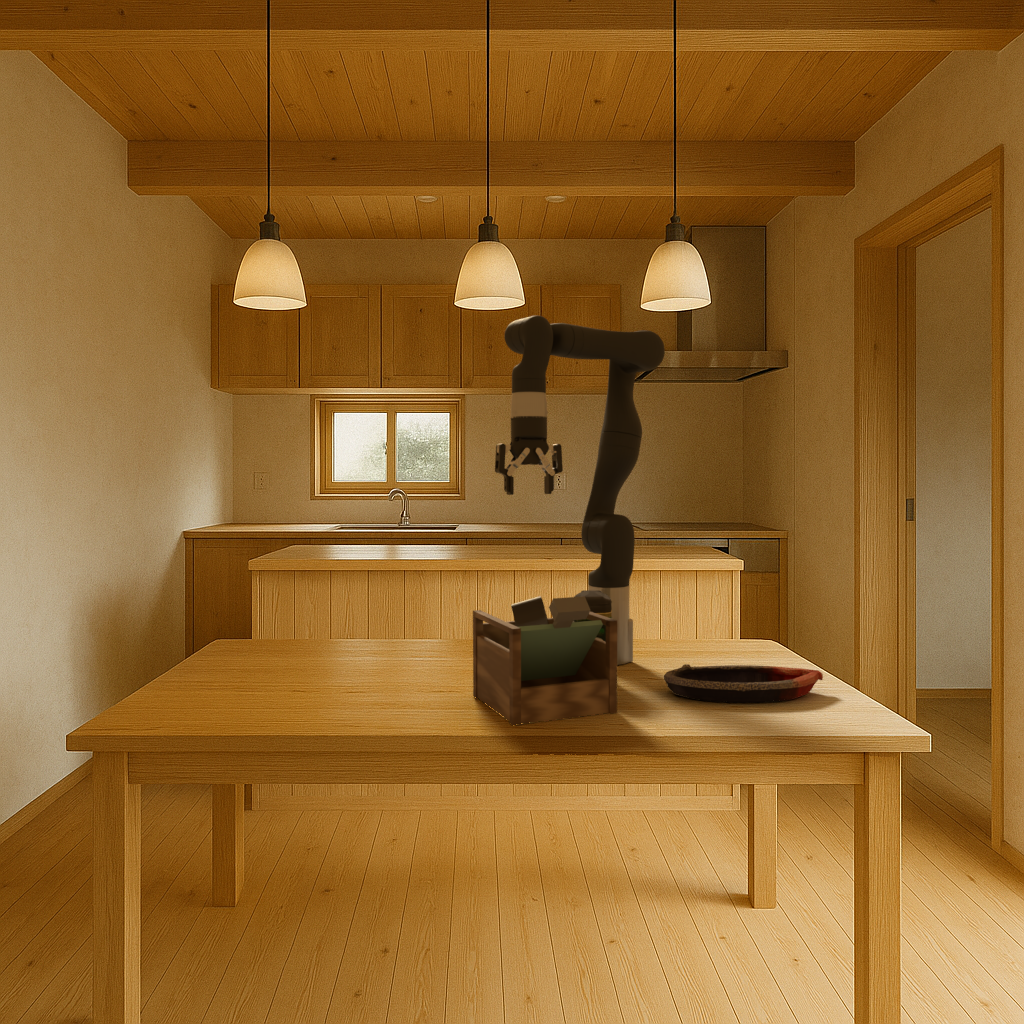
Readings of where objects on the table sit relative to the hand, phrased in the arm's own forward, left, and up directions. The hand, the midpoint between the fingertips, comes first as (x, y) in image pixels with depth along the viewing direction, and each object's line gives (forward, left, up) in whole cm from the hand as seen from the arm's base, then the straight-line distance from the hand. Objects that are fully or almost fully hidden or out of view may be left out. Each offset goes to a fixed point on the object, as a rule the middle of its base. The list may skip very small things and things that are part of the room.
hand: (529, 494), depth 173 cm
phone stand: (+6, +19, -30) cm, 36 cm away
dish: (-32, +29, -39) cm, 58 cm away
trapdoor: (+6, +26, -27) cm, 38 cm away
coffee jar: (-10, +9, -38) cm, 41 cm away
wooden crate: (+6, +20, -38) cm, 43 cm away
